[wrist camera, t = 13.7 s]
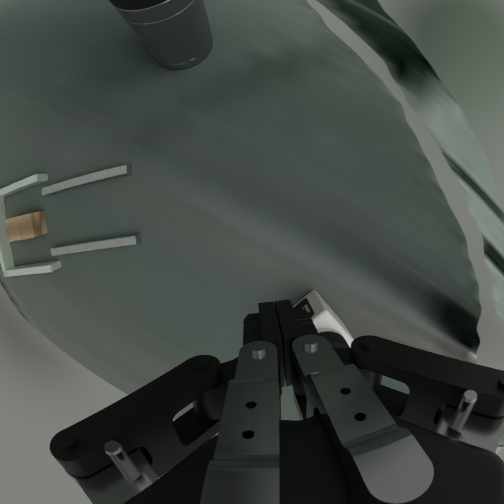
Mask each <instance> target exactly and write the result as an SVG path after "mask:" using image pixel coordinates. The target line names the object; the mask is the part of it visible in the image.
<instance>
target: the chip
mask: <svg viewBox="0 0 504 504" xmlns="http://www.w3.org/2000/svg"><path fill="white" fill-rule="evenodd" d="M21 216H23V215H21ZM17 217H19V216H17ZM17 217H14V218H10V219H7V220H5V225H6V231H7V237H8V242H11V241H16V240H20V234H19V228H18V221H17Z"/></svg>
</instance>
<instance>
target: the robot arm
mask: <svg viewBox="0 0 504 504" xmlns="http://www.w3.org/2000/svg"><path fill="white" fill-rule="evenodd" d="M109 1H110V2H111V3H112V4H113V5H114V7H115V8H116V9H117V10H118V12H119V13H120V14H121V15H122V17H123V18H124V19H125V20H126V21H127V23H128V24H129V25H130V27H131V28H132V29H133V30H134V32H135V33H136V34H137V36H138V37H139V38H140V39H141V41H142V42H143V43H144V45H145V46H146V47H147V49H148V50H149V51H150V53H151V54H152V55H153V57H154V58H155V59H156V61H157V62H158V63H159V64H160V65H162V66H163V67H165V68H169V69H176V70H178V69H185V68H189V67H192V66H194V65H196V64H198V63H199V62H201V61H202V60H203V59H204V58H205V57H206V56H207V55H208V54H209V52H210V50H211V48H212V44H213V39H212V34H211V30H210V25H209V21H208V17H207V13H206V9H205V5H204V0H109ZM258 304H259V313H255V314H248V315H247V316H246V317H245V319H244V329H243V330H244V331H243V347H242V348H241V349H240V351H239V356H238V357H237V358H235V359H233V360H231V361H228V362H224V363H221V364H220V361H219V360H218V359H217V358H216V357H214V356H210V355H199V356H195V357H192V358H190V359H188V360H186V361H185V362H183V363H182V364H180V365H178V366H177V367H175V368H173V369H172V370H170V371H168V372H167V373H165V374H164V375H162V376H160V377H159V378H157V379H155V380H153V381H152V382H150V383H148V384H147V385H145V386H143V387H142V388H140V389H138V390H136V391H135V392H133V393H131V394H129V395H128V396H126V397H124V398H122V399H121V400H119V401H117V402H115V403H113V404H112V405H110V406H108V407H106V408H104V409H103V410H101V411H99V412H97V413H95V414H93V415H91V416H89V417H87V418H86V419H84V420H82V421H80V422H78V423H76V424H74V425H72V426H70V427H68V428H66V429H64V430H62V431H60V432H59V433H57V434H56V435H55V436H54V437H53V438H52V440H51V443H50V451H51V453H52V455H53V456H54V457H55V458H56V459H57V461H58V462H59V463H60V464H61V465H62V466H63V467H64V469H65V471H66V472H67V473H68V474H69V475H70V477H71V478H72V479H73V480H75V482H76V483H77V484H78V485H79V486H80V487H81V488H82V489H83V491H84V492H85V493H86V495H87V496H88V498H89V499H90V501H91V502H92V503H93V504H504V462H503V460H501V458H500V457H499V456H498V455H496V454H495V451H496V448H497V445H498V441H499V438H500V434H501V430H502V426H503V422H504V371H502V370H497V369H493V368H489V367H485V366H481V365H477V364H473V363H469V362H465V361H461V360H458V359H454V358H450V357H446V356H443V355H439V354H435V353H432V352H428V351H424V350H421V349H417V348H414V347H410V346H407V345H404V344H400V343H397V342H394V341H390V340H387V339H384V338H380V337H377V336H370V335H368V336H361V337H358V338H356V339H354V340H353V341H352V343H351V348H339V347H333V346H331V344H330V343H329V341H328V340H327V339H326V338H324V337H322V336H320V335H319V333H318V331H317V329H316V327H315V325H314V323H313V321H312V319H311V316H310V314H309V312H307V311H306V310H304V309H303V308H299V309H293V306H292V304H291V301H290V300H282V301H275V306H274V302H264V303H258ZM382 375H384V376H387V377H389V378H392V379H395V380H398V381H401V382H403V383H405V384H406V385H407V386H408V387H409V389H410V393H409V395H408V394H405V393H402V392H400V391H397V390H394V389H391V388H389V387H386V386H383V385H381V380H382ZM284 376H285V379H284ZM285 381H286V386H291V385H293V392H294V401H295V404H296V407H297V410H298V413H299V416H300V419H301V420H299V421H292V420H281V399H280V396H281V394H282V389H281V387H284V386H285ZM192 402H193V406H194V407H193V408H191V409H190V410H189V411H187V412H186V413H184V414H183V415H182V416H180V417H179V418H177V419H176V420H175V421H173V418H174V416H175V415H176V414H177V413H178V412H179V411H181V410H182V409H183V408H185V407H186V406H188V405H189V404H190V403H192ZM218 432H219V433H218ZM216 433H218V435H216V436H214V435H215V434H216ZM213 436H214V437H213ZM174 466H175V467H174ZM170 469H171V470H170ZM166 472H167V473H166ZM165 473H166V474H165ZM163 474H164V475H163ZM162 475H163V476H162ZM161 476H162V477H161ZM159 477H160V478H159ZM158 478H159V479H158Z"/></svg>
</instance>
